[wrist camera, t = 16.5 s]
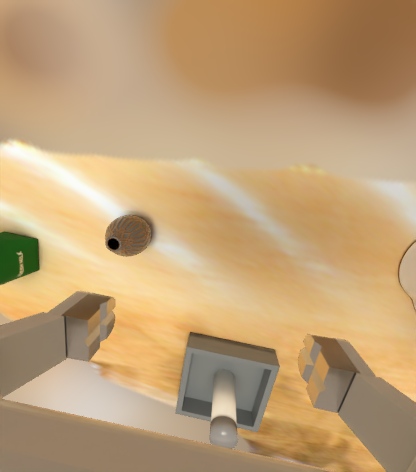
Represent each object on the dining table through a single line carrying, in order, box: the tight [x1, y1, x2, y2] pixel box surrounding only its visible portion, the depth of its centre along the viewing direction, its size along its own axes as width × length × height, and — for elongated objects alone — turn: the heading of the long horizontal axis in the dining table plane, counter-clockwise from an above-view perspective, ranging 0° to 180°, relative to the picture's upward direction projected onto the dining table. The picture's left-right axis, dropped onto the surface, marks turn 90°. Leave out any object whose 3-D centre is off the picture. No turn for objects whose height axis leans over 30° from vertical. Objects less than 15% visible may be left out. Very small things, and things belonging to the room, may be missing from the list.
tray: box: [176, 332, 280, 432], centre depth 43 cm, size 18×18×4 cm
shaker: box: [210, 369, 238, 449], centre depth 38 cm, size 5×5×11 cm
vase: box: [105, 215, 151, 256], centre depth 34 cm, size 7×7×9 cm
